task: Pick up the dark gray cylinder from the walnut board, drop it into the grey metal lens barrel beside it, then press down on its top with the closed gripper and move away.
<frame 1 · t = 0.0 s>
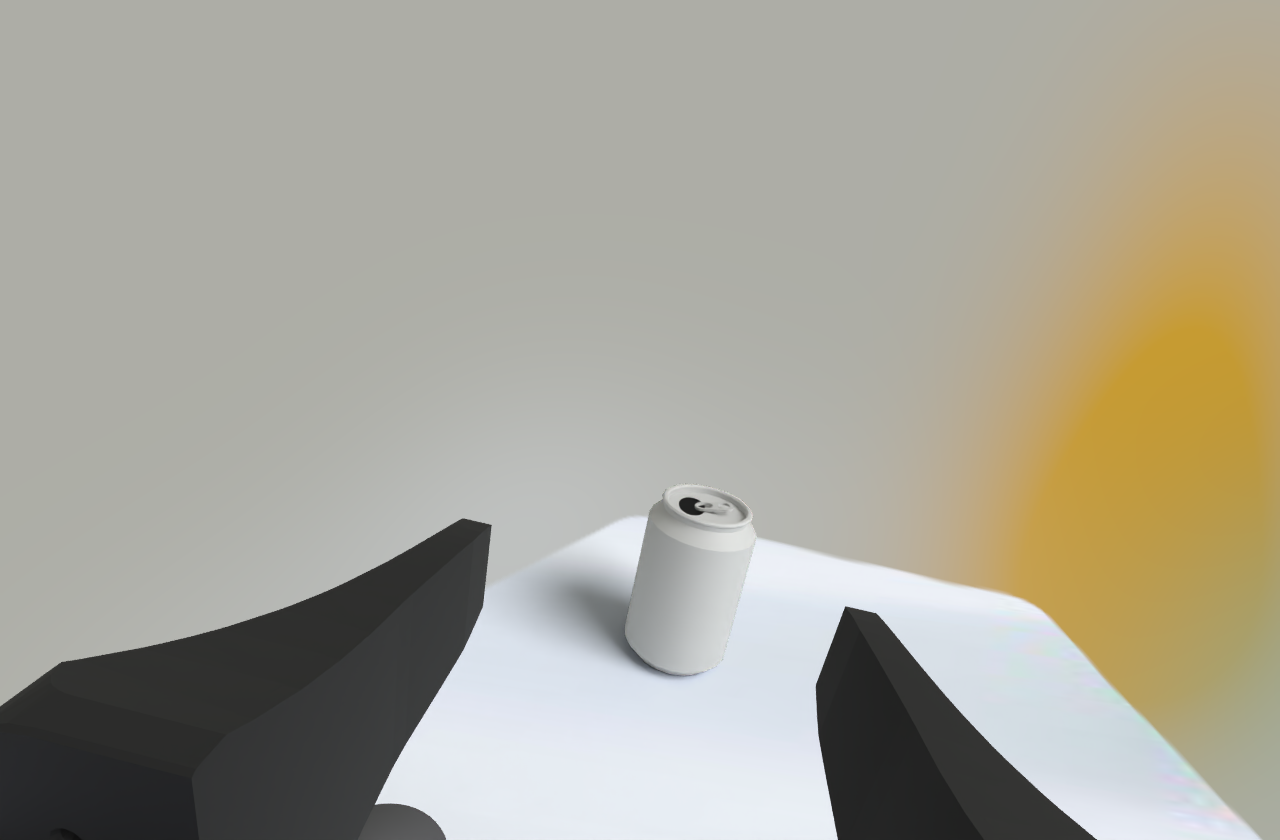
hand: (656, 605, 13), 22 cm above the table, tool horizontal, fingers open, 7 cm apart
can: (671, 650, 47), on the table
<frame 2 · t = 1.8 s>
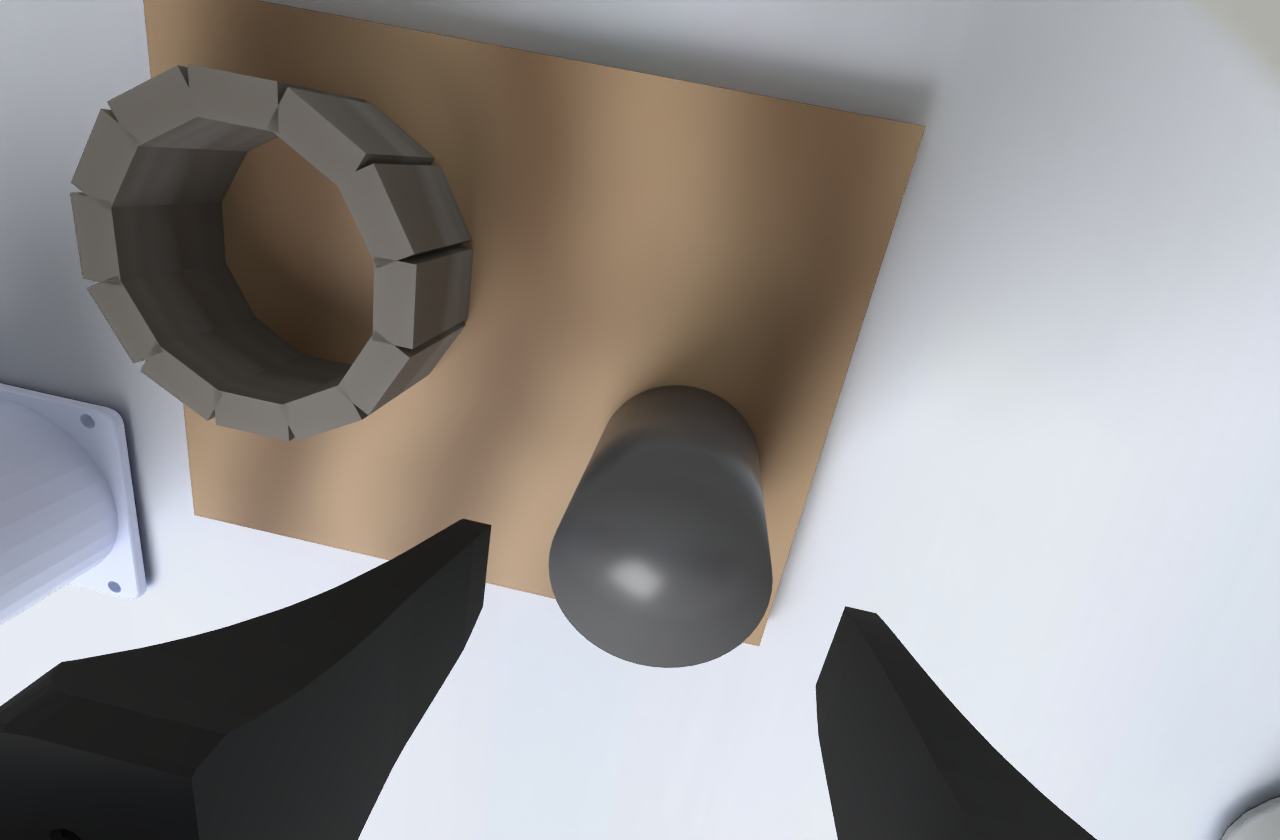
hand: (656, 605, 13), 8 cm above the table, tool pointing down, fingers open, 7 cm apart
barrel mount: (502, 348, 20), on the table
dark gray cylinder: (677, 461, 19), point 1 cm above the table, touching barrel mount
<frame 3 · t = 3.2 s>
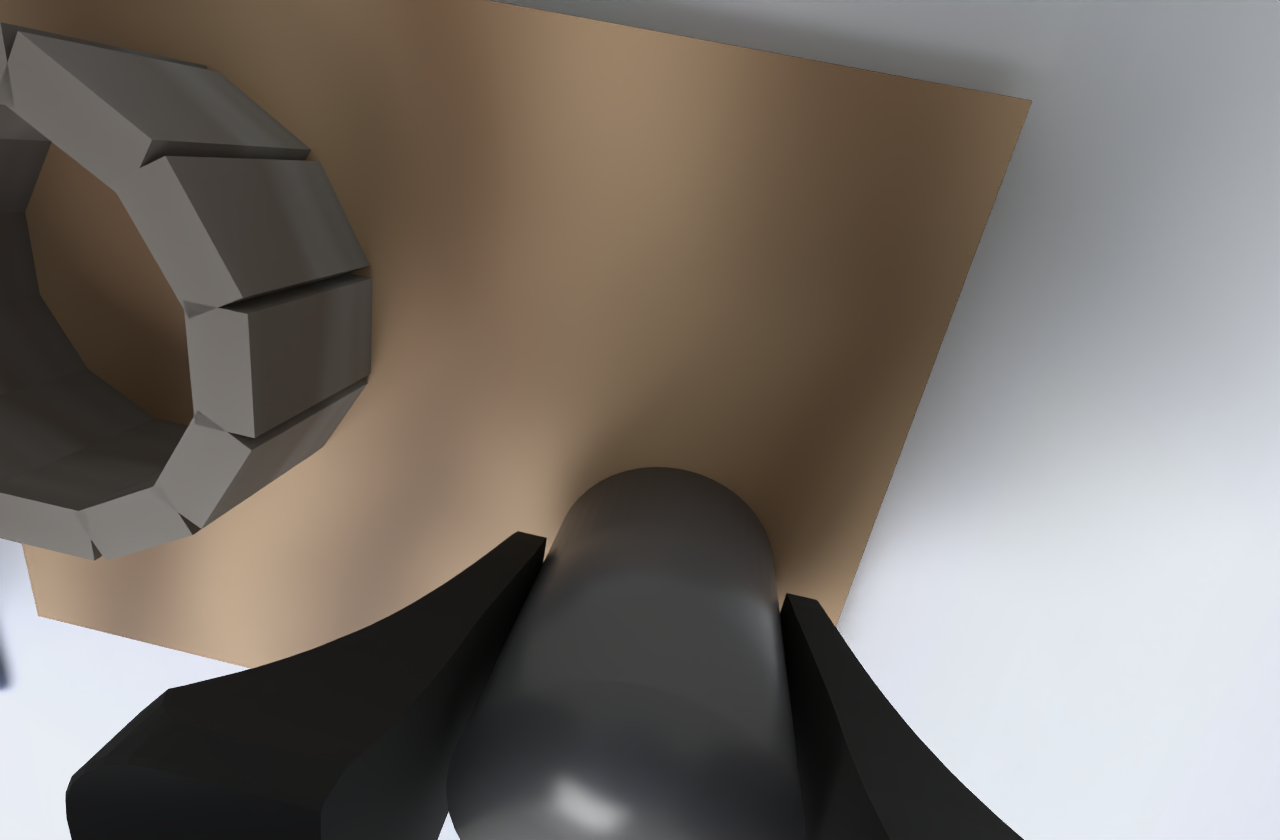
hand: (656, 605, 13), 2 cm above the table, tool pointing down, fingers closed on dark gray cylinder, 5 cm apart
barrel mount: (426, 409, 14), on the table
dark gray cylinder: (662, 565, 14), point 1 cm above the table, touching barrel mount, gripper
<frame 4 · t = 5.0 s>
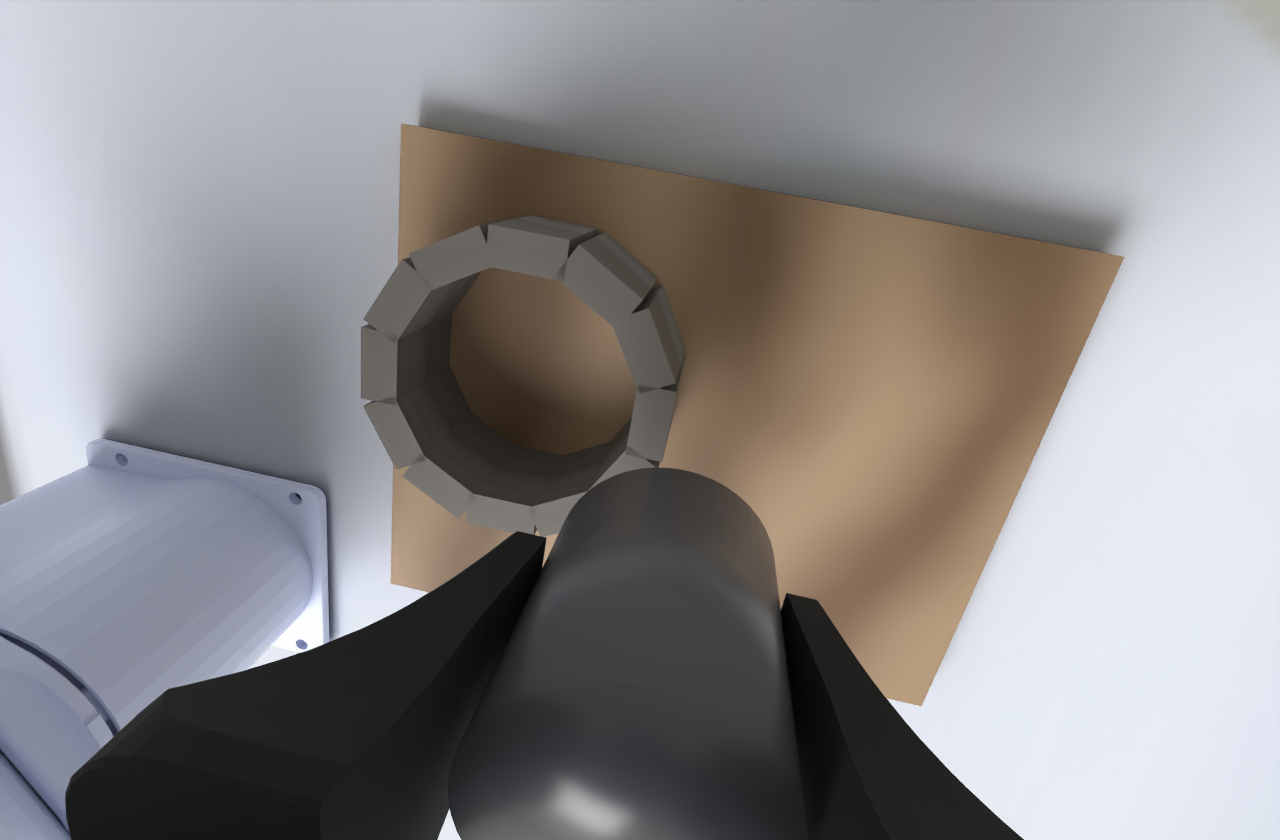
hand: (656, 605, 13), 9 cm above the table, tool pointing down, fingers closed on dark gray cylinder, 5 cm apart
barrel mount: (693, 437, 21), on the table
dark gray cylinder: (663, 566, 14), point 8 cm above the table, touching gripper
when the fingers open (7 cm above the table, at t = 6.6 s): dark gray cylinder drops 5 cm, resting on barrel mount.
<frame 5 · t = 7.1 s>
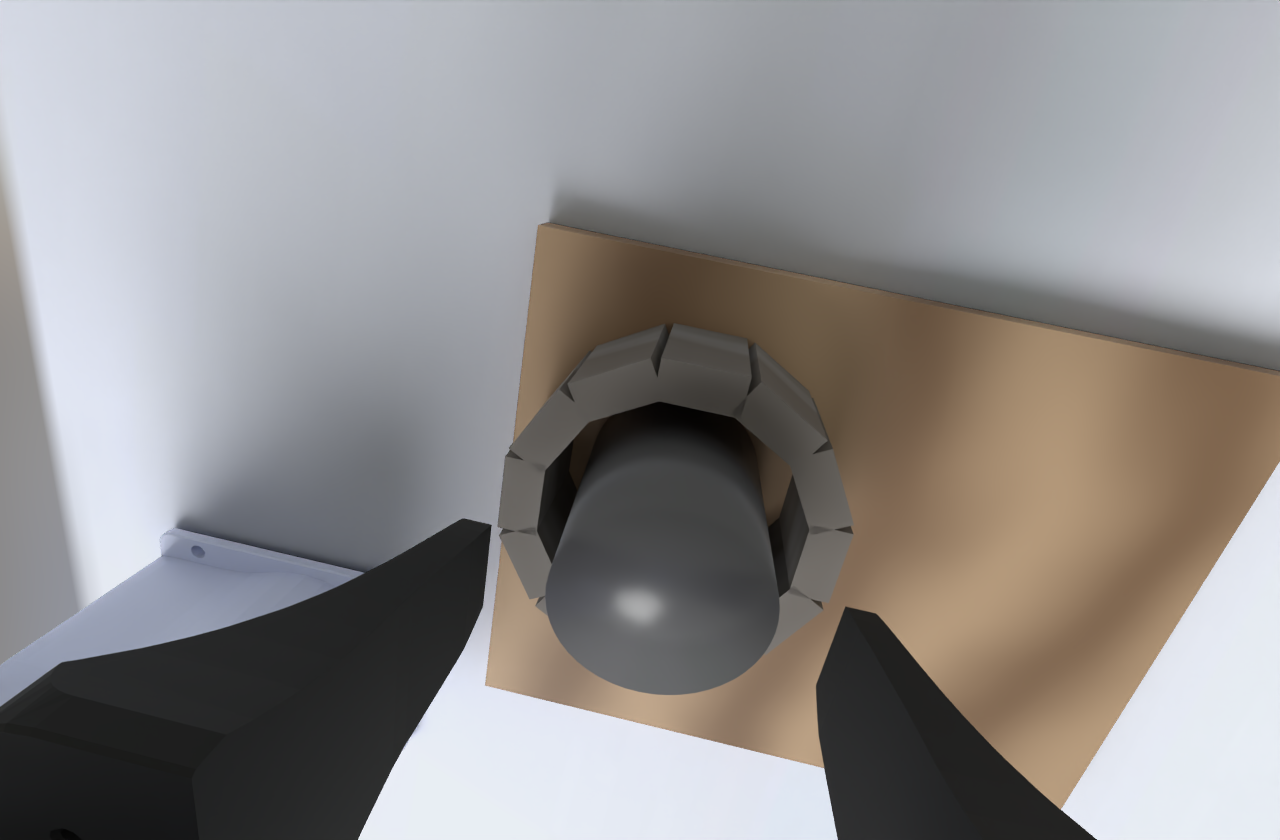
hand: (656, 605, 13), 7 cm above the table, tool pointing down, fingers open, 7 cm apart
barrel mount: (823, 545, 20), on the table
dark gray cylinder: (673, 468, 18), point 1 cm above the table, touching barrel mount
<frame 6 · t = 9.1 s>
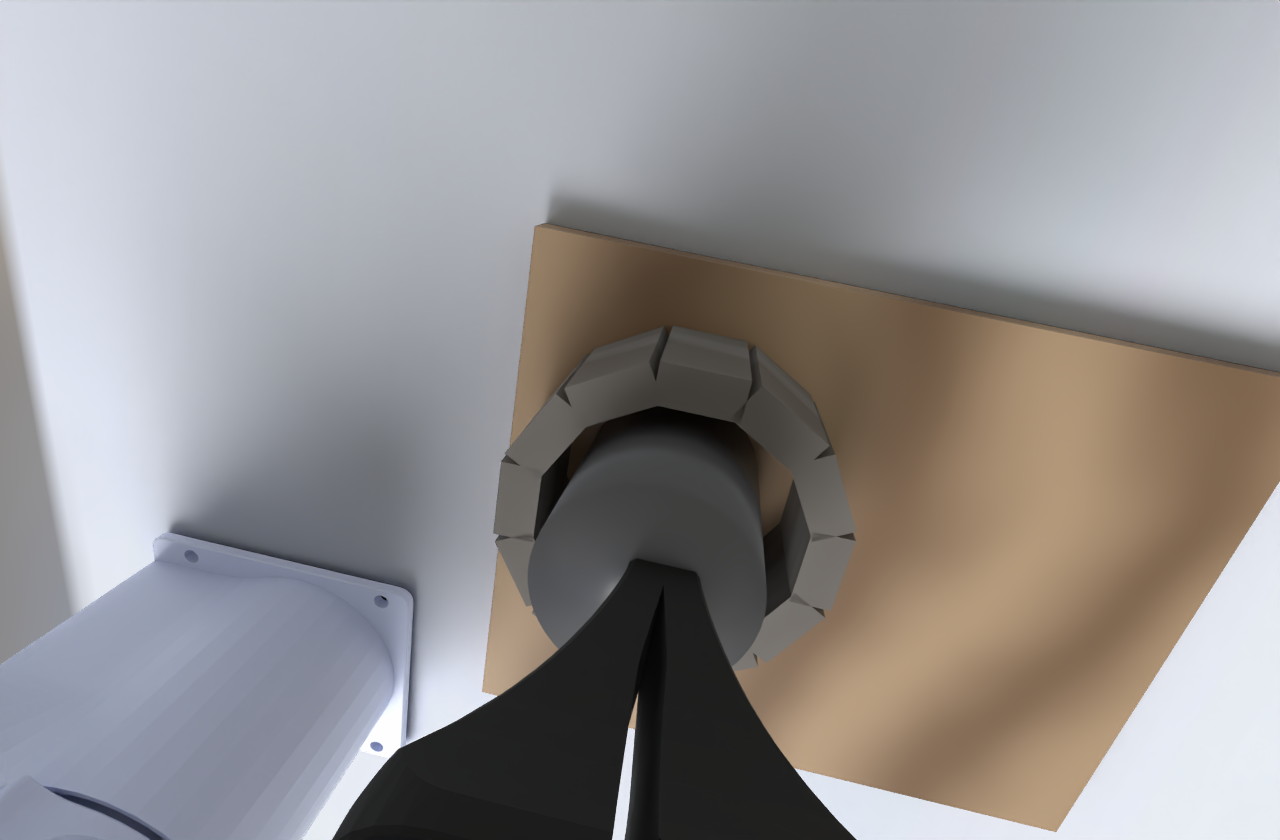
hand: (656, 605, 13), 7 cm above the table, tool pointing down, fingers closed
barrel mount: (824, 550, 20), on the table
dark gray cylinder: (672, 471, 18), point 1 cm above the table, touching barrel mount, gripper
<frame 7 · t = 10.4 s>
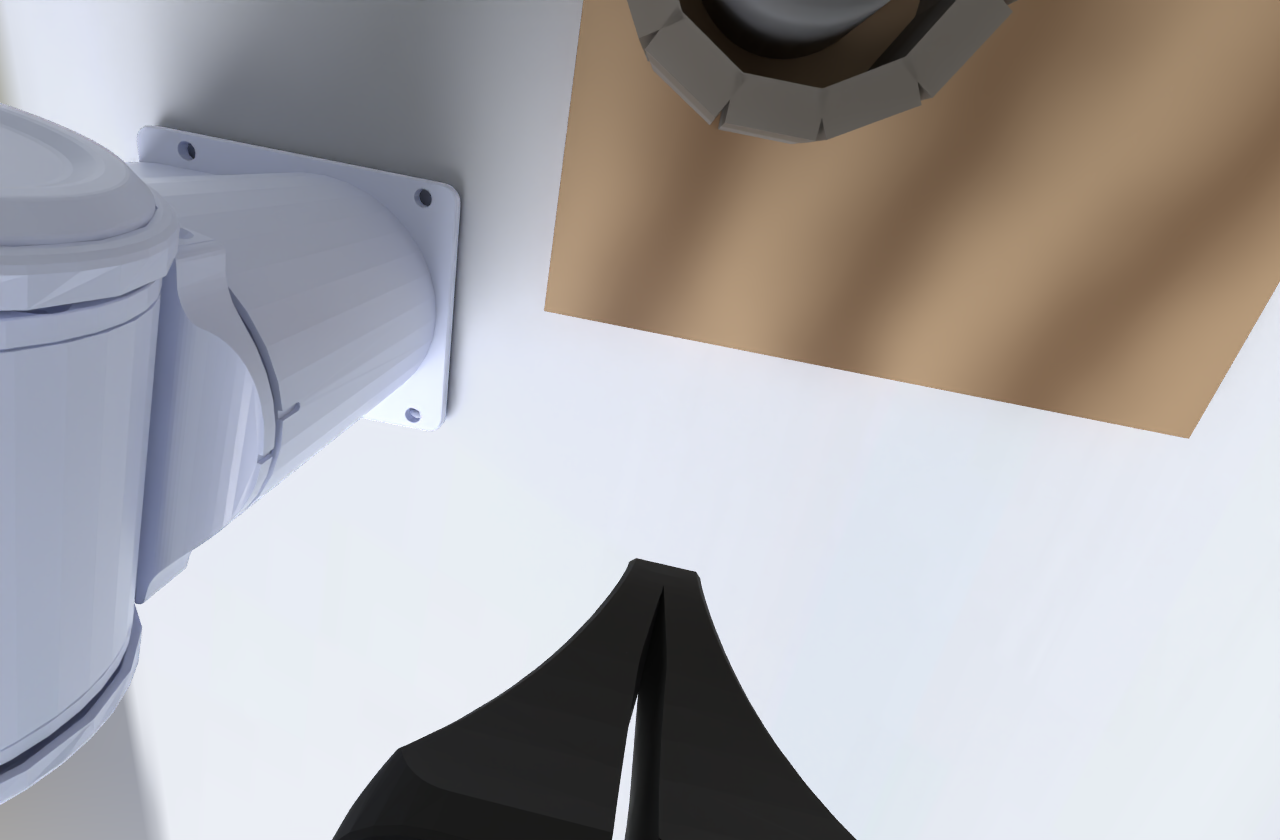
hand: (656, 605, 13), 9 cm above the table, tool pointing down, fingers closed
barrel mount: (953, 86, 17), on the table
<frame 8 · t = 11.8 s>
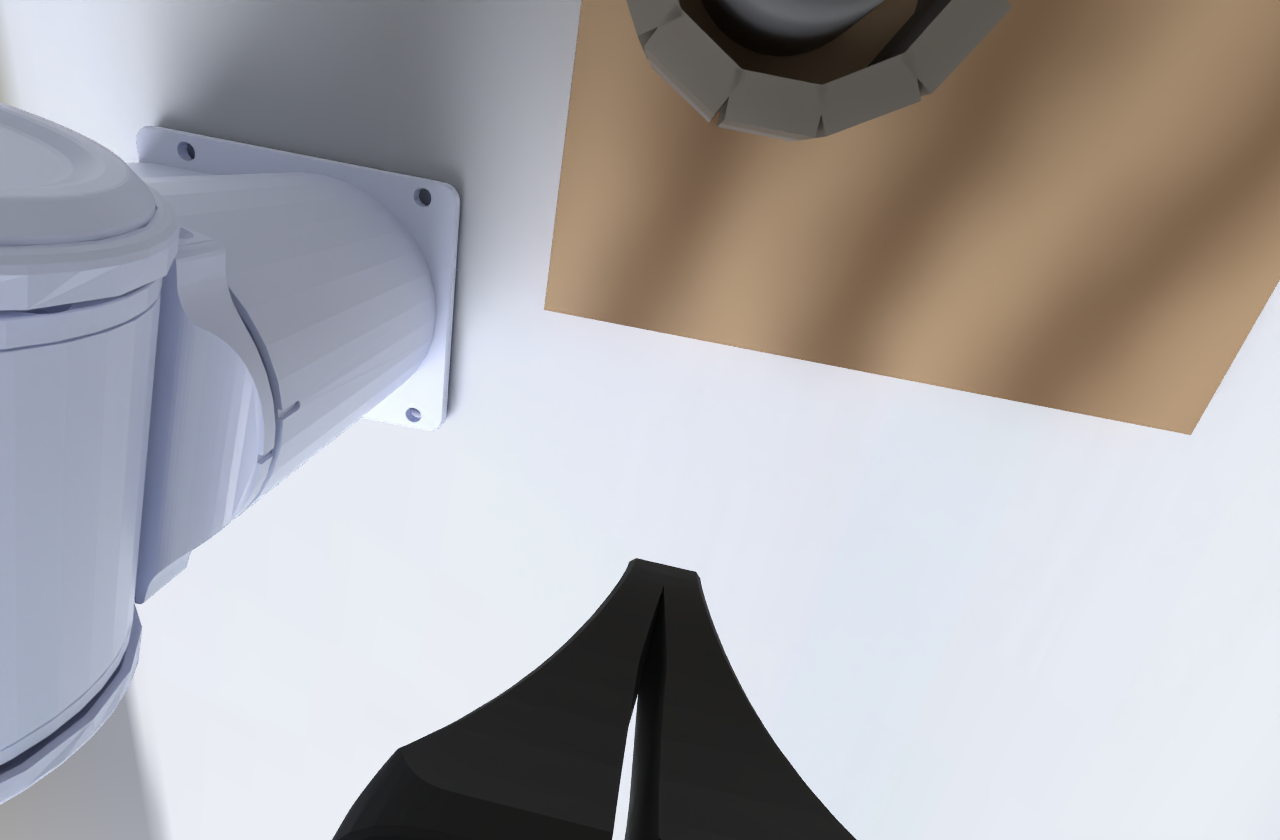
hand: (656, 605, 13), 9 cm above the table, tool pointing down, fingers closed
barrel mount: (952, 82, 17), on the table
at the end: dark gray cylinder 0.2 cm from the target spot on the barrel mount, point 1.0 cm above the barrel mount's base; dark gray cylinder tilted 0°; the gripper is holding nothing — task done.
